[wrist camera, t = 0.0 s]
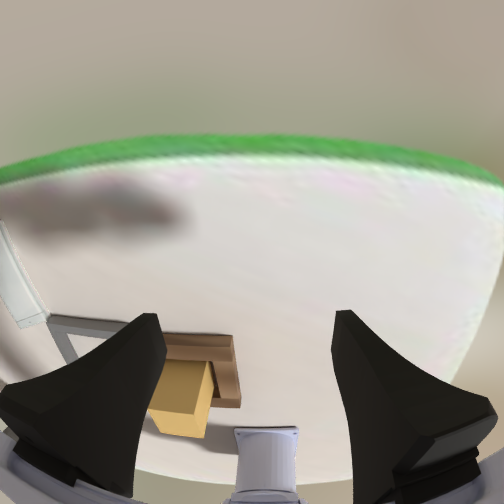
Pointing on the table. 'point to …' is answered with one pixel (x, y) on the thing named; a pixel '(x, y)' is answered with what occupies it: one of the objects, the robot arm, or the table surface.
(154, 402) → the peg
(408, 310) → the table surface
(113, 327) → the gray square frame
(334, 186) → the table surface
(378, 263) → the table surface
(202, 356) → the socket block
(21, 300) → the hard drive
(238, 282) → the table surface
